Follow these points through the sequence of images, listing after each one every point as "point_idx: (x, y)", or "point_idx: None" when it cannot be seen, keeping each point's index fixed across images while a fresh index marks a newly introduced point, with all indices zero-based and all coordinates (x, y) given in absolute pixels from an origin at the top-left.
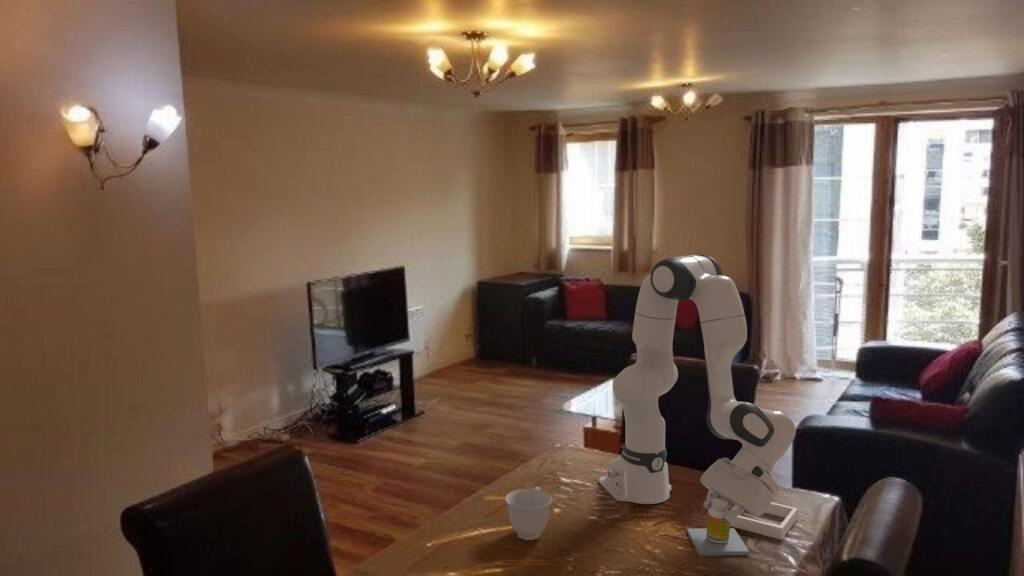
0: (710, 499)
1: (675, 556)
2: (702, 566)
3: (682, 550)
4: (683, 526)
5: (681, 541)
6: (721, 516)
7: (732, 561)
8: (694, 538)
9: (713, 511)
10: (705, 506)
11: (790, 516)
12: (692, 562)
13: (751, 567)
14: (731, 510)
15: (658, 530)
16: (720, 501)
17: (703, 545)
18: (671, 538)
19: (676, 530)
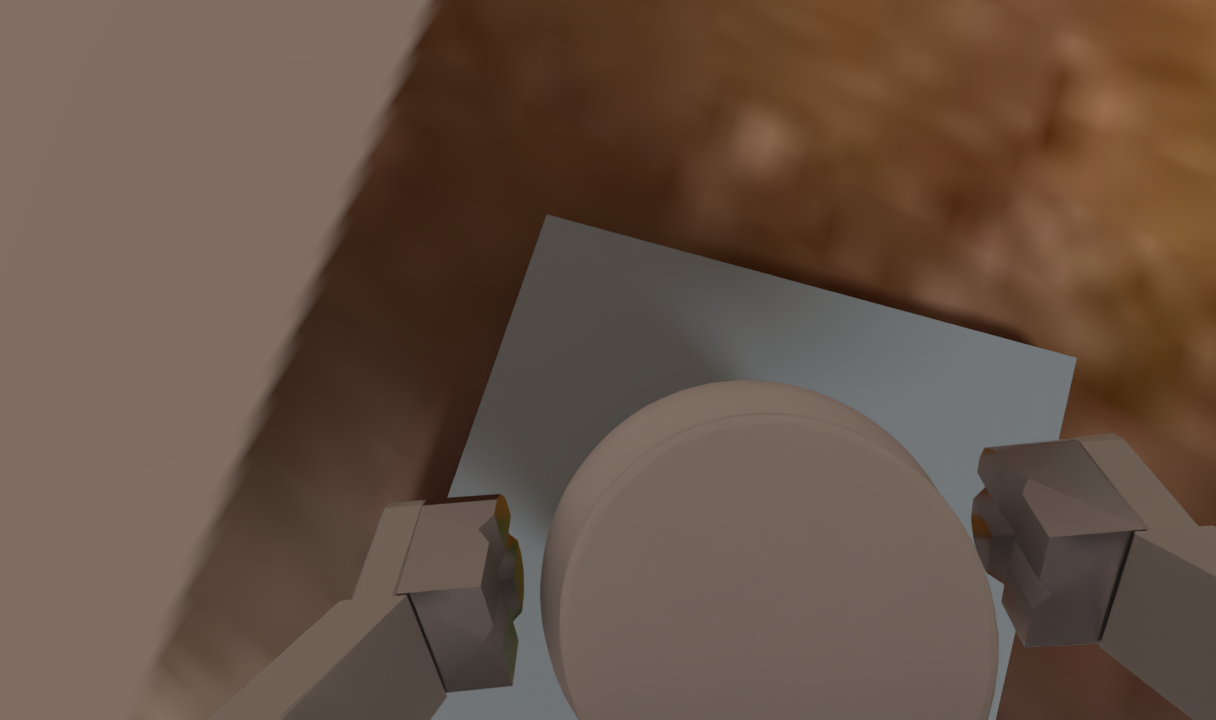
0: (1173, 612)
1: (616, 28)
2: (380, 163)
3: (697, 135)
4: (1213, 405)
5: (871, 211)
6: (559, 506)
7: (348, 473)
8: (820, 312)
9: (708, 420)
10: (1037, 448)
11: None
12: (471, 116)
13: (188, 582)
14: (342, 647)
15: (1172, 102)
16: (768, 633)
17: (646, 321)
18: (960, 147)
19: (1129, 281)
